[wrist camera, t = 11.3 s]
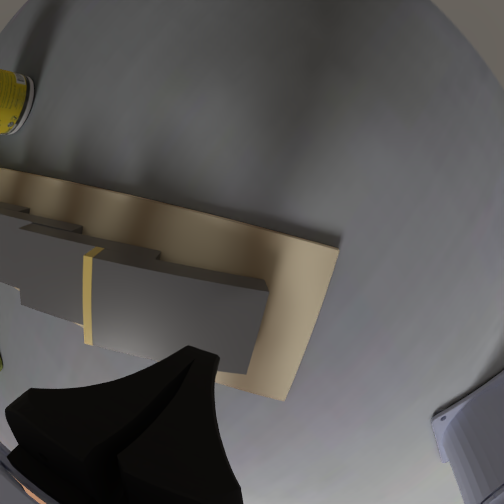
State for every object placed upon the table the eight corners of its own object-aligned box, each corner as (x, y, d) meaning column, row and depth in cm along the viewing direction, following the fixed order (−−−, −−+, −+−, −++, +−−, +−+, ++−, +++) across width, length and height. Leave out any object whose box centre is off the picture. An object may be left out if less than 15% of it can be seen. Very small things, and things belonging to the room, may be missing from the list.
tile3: (71, 231, 15) (-21, 209, 13) (70, 305, 16) (-19, 274, 15) (82, 225, 16) (-8, 205, 15) (79, 296, 18) (-7, 267, 16)
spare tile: (269, 291, 14) (83, 255, 12) (246, 375, 15) (84, 343, 13) (264, 279, 15) (96, 246, 14) (243, 357, 16) (94, 328, 15)
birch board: (338, 248, 15) (339, 250, 14) (284, 395, 17) (284, 401, 17) (-23, 163, 18) (-27, 163, 18) (-26, 254, 21) (-30, 256, 20)
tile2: (154, 259, 14) (17, 228, 13) (146, 341, 15) (21, 304, 14) (160, 250, 16) (31, 223, 14) (151, 327, 17) (33, 294, 16)
